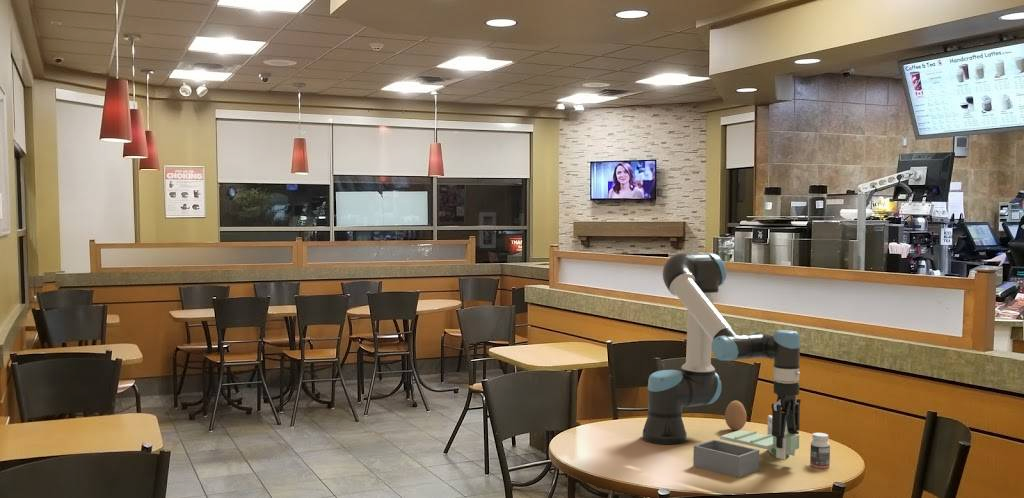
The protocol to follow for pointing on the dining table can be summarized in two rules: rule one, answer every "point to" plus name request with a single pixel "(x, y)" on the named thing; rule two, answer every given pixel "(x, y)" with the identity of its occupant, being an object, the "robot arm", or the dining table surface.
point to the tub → (726, 458)
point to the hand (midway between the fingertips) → (785, 456)
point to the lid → (761, 439)
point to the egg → (735, 415)
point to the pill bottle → (820, 451)
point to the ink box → (772, 450)
